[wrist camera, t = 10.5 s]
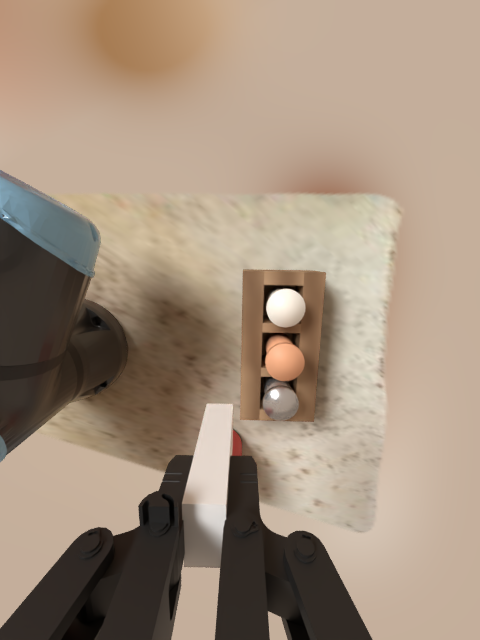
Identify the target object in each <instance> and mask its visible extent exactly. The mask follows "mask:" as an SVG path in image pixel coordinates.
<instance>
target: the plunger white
mask: <svg viewBox="0 0 480 640" xmlns="http://www.w3.org/2000/svg"><path fill="white" fill-rule="evenodd" d="M266 311H267V315H268V317H269V319H270V320H271V321H272V322H273V323H274V324H275V325H277V326H280V327H291V326H294V325H296V324H297V323H299V322H300V321H301V319H302V318H303V316H304V314H305V302H304V299H303V298H302V296H301V295H300V294H299V293H297V292H296V291H294V290H291V289H285V288H283V287H276V288H273V289H272V290H270V291H269V293H268V294H267V296H266Z"/></svg>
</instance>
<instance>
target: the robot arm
mask: <svg viewBox="0 0 480 640" xmlns="http://www.w3.org/2000/svg"><path fill="white" fill-rule="evenodd" d="M100 243H101V238H100V233H99V231H98V229H97V227H96V226H95V225H94V224H93V223H92V222H91V221H90V220H89V219H88V218H86V217H85V216H83V215H81V214H80V213H78V212H76V211H75V210H73V209H71V208H70V207H68V206H66V205H64V204H62V203H61V202H59V201H57V200H55V199H54V198H52V197H50V196H48V195H46V194H44V193H42V192H41V191H39V190H37V189H35V188H33V187H31V186H30V185H28V184H26V183H24V182H22V181H20V180H18V179H16V178H15V177H12V176H11V175H9V174H7V173H5V172H3V171H1V170H0V462H1V461H2V460H3V459H4V458H5V456H6V455H7V454H8V453H10V452H11V451H12V450H13V449H15V448H16V447H17V446H18V445H19V444H21V443H22V442H23V441H24V440H25V439H27V438H28V437H29V436H30V435H31V434H33V433H34V432H35V431H36V430H38V429H39V428H40V427H41V426H42V425H44V424H45V423H46V422H47V421H48V420H50V419H51V418H52V417H53V416H55V415H56V414H57V413H58V412H59V411H61V410H62V409H63V408H64V407H65V406H66V405H68V404H69V403H71V402H74V401H78V400H81V399H84V398H87V397H91V396H94V395H96V394H98V393H100V392H102V391H103V390H105V389H106V388H107V387H109V386H110V385H111V384H112V383H113V382H114V381H115V380H116V379H117V378H118V377H119V376H120V374H121V373H122V371H123V369H124V366H125V364H126V360H127V342H126V338H125V335H124V332H123V330H122V328H121V326H120V325H119V323H118V322H117V320H116V319H115V318H114V317H113V316H112V315H111V314H110V313H109V312H108V311H107V310H106V309H104V308H103V307H101V306H100V305H98V304H96V303H94V302H92V301H89V300H86V299H84V298H85V295H86V292H87V290H88V287H89V284H90V281H91V278H92V277H94V275H95V272H94V266H95V262H96V259H97V255H98V251H99V248H100ZM232 448H233V404H207V405H206V409H205V413H204V417H203V421H202V425H201V429H200V433H199V437H198V441H197V445H196V449H195V453H194V456H189V455H176V456H175V457H174V458H173V459H172V460H171V461H170V462H169V464H168V467H167V469H166V472H165V475H164V478H163V482H162V483H161V486H160V489H159V491H156V492H154V493H152V494H149V495H148V496H147V497H145V498H144V499H143V500H142V502H141V503H140V505H139V506H138V507H139V519H140V526H139V527H137V528H135V529H134V530H131V531H129V532H125V533H122V534H118V535H115V536H113V535H112V533H111V531H110V530H108V529H107V528H100V527H98V528H94V529H90V530H88V531H87V532H85V533H83V534H81V535H80V536H79V537H78V538H77V539H76V540H75V541H74V542H73V543H72V544H71V545H70V547H69V548H68V549H67V550H66V551H65V553H64V554H63V555H62V556H61V557H60V558H59V560H58V561H57V562H56V563H55V564H54V566H53V567H52V568H51V569H50V570H49V571H48V573H47V574H46V575H45V576H44V577H43V579H42V580H41V581H40V582H39V584H38V585H37V586H36V587H35V588H34V590H33V591H32V592H31V593H30V594H29V595H28V596H27V598H26V599H25V600H24V601H23V602H22V604H21V605H20V606H19V607H18V608H17V609H16V611H15V612H14V613H13V614H12V615H11V617H10V618H9V619H8V620H7V621H6V623H5V624H4V625H3V626H2V627H1V628H0V640H171V636H172V632H173V626H174V621H175V615H176V610H177V604H178V600H179V594H180V589H181V570H182V565H183V560H184V567H212V568H213V567H214V568H220V579H219V593H218V606H217V620H216V632H215V640H270V639H269V624H268V611H269V612H272V613H274V614H276V615H278V616H281V618H282V621H283V625H284V628H285V632H286V635H287V638H288V640H372V638H371V636H370V634H369V632H368V630H367V628H366V626H365V624H364V622H363V621H362V619H361V617H360V615H359V613H358V611H357V609H356V607H355V605H354V603H353V601H352V599H351V597H350V595H349V594H348V591H347V589H346V588H345V586H344V584H343V582H342V580H341V578H340V576H339V574H338V572H337V571H336V568H335V566H334V564H333V562H332V560H331V559H330V557H329V555H328V553H327V551H326V549H325V547H324V545H323V544H322V543H321V541H320V540H319V539H318V538H317V537H316V536H314V535H313V534H311V533H309V532H306V531H295V532H293V533H291V534H290V535H289V536H288V537H284V536H281V535H278V534H276V533H274V532H272V531H271V530H269V529H268V528H267V527H266V526H265V525H264V523H263V522H262V520H261V517H260V511H259V510H260V509H259V494H258V479H257V464H256V463H255V461H254V459H253V458H252V456H232Z"/></svg>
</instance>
